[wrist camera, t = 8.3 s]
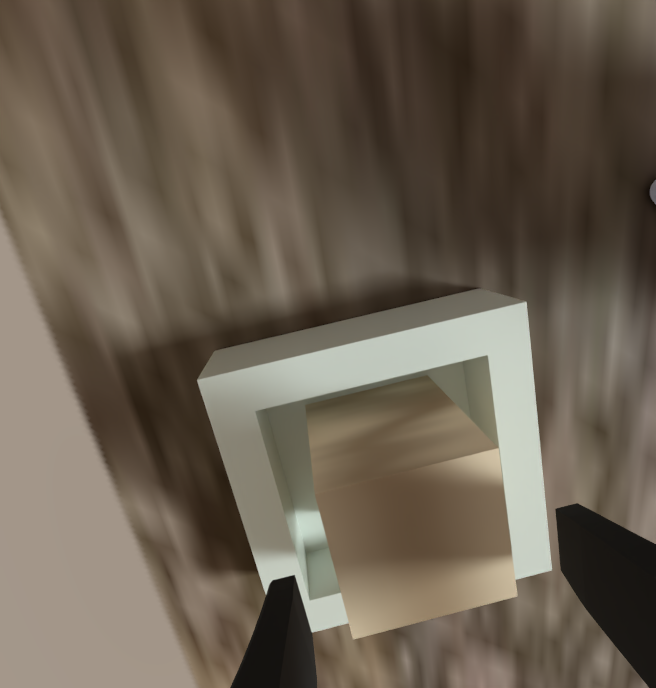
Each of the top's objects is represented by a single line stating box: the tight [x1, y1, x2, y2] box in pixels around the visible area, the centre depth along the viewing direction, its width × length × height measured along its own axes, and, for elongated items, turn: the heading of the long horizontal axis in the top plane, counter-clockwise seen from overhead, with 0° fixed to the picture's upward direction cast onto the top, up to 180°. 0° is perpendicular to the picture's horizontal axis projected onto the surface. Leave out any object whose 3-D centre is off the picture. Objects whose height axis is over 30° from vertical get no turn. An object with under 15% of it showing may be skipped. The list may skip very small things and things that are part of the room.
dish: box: [197, 288, 552, 632], centre depth 17 cm, size 11×11×4 cm
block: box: [305, 375, 517, 639], centre depth 15 cm, size 5×5×6 cm
